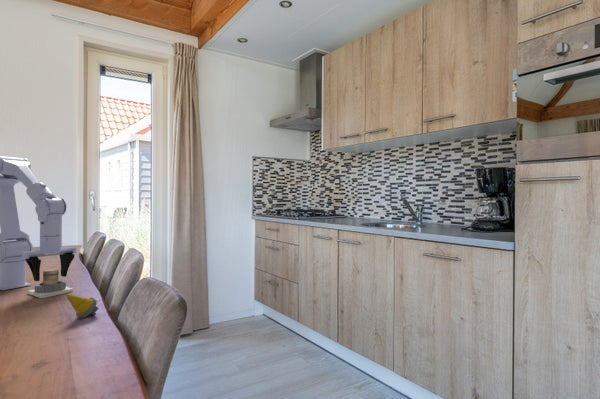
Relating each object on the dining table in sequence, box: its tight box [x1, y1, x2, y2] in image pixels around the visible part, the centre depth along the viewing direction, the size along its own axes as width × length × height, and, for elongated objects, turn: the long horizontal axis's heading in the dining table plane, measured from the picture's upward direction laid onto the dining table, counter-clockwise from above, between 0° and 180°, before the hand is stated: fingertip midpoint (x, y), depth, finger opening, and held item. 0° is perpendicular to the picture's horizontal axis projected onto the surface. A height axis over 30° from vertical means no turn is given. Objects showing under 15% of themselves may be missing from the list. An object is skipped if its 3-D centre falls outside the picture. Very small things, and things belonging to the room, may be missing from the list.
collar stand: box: [27, 279, 74, 299], centre depth 114 cm, size 9×9×3 cm
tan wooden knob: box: [42, 269, 59, 286], centre depth 114 cm, size 4×4×6 cm
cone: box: [64, 293, 99, 319], centre depth 91 cm, size 5×5×10 cm
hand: (50, 278), depth 114 cm, fingers open, 7 cm apart
